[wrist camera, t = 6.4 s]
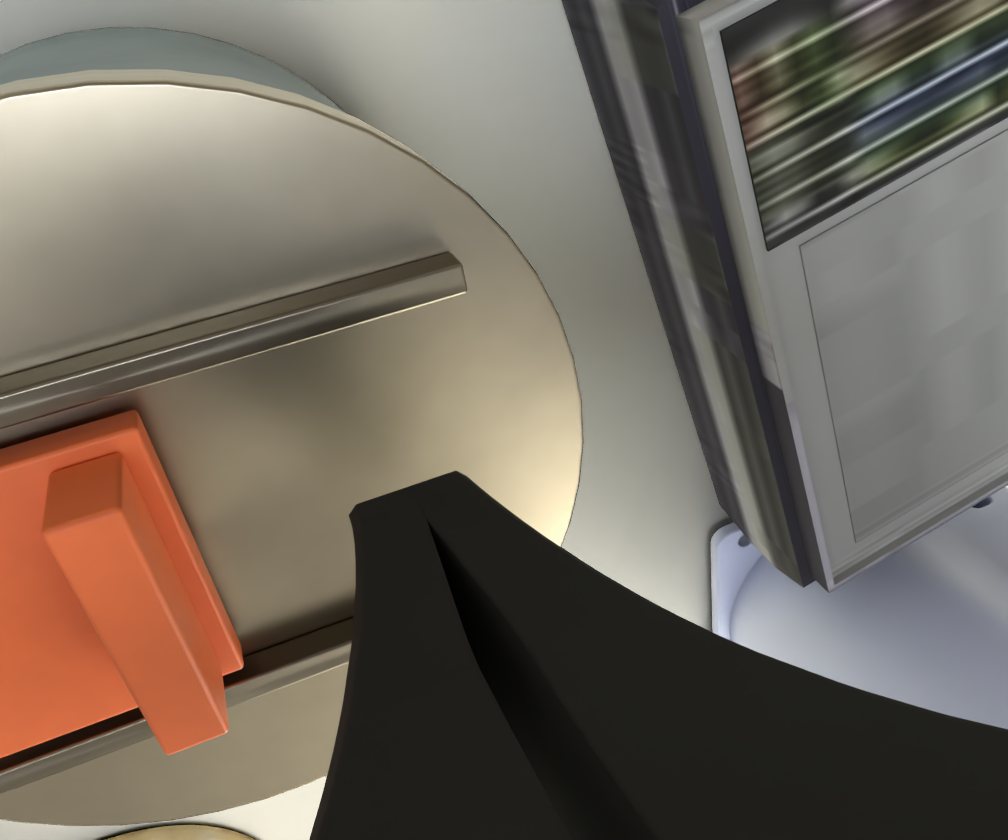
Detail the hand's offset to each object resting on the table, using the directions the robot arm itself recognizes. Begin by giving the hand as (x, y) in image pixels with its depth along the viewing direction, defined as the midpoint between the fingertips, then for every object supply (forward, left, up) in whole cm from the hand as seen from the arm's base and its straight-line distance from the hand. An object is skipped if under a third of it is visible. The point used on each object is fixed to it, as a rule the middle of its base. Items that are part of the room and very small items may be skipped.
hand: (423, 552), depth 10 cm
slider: (+5, 0, -2) cm, 5 cm away
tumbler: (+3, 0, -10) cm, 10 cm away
